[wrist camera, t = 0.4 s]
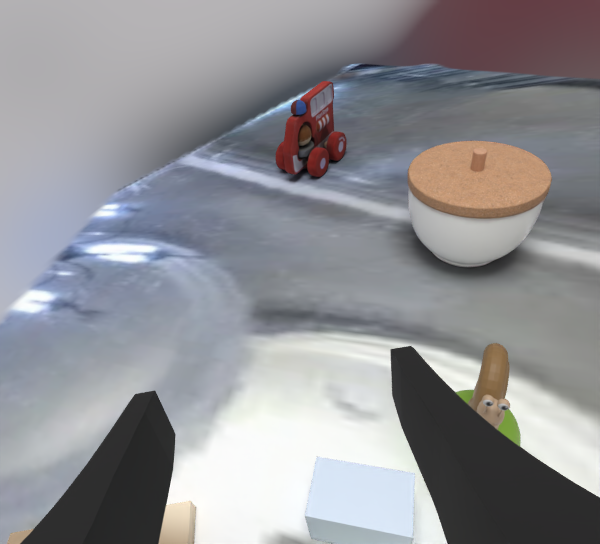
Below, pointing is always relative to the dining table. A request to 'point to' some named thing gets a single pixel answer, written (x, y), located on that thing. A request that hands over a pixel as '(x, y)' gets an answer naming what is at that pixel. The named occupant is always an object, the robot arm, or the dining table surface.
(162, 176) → the dining table surface
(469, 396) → the snail figurine
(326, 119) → the toy fire truck
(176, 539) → the birch board
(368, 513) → the blue brick
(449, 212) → the lidded bowl
